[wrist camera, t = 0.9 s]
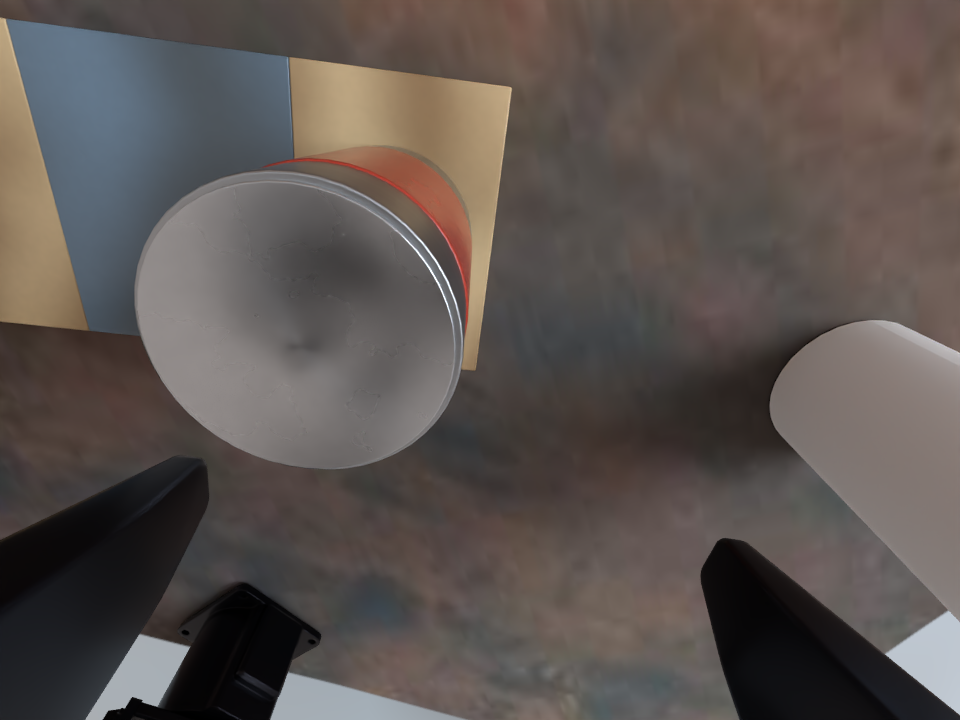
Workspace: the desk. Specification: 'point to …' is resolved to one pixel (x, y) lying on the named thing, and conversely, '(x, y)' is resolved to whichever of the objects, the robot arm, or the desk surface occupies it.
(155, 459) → the desk surface
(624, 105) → the desk surface
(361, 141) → the board
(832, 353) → the cylindrical container
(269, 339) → the tin can
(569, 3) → the desk surface
